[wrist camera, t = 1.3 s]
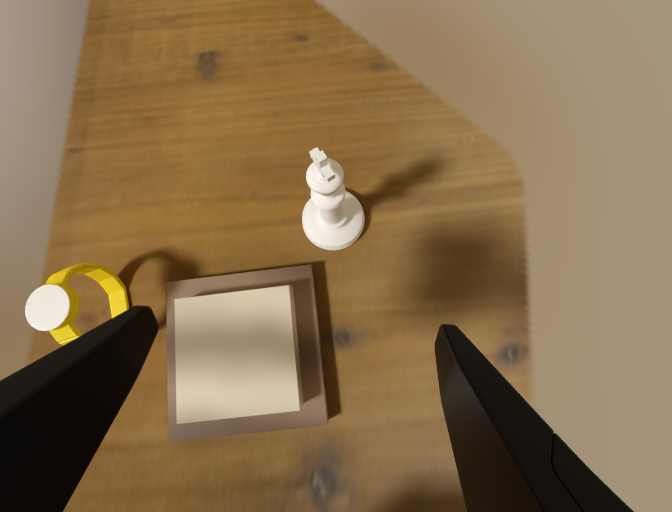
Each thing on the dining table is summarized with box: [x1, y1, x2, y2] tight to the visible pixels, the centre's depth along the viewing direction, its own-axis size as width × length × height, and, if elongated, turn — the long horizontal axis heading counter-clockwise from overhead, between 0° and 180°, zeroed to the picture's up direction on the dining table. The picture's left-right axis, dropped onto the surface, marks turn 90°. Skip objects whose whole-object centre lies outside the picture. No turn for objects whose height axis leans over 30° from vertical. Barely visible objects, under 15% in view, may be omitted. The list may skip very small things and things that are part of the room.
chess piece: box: [302, 147, 365, 250], centre depth 19 cm, size 5×5×10 cm
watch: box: [25, 263, 130, 345], centre depth 21 cm, size 6×3×6 cm, turn 18°
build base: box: [166, 264, 329, 442], centre depth 21 cm, size 11×11×2 cm
